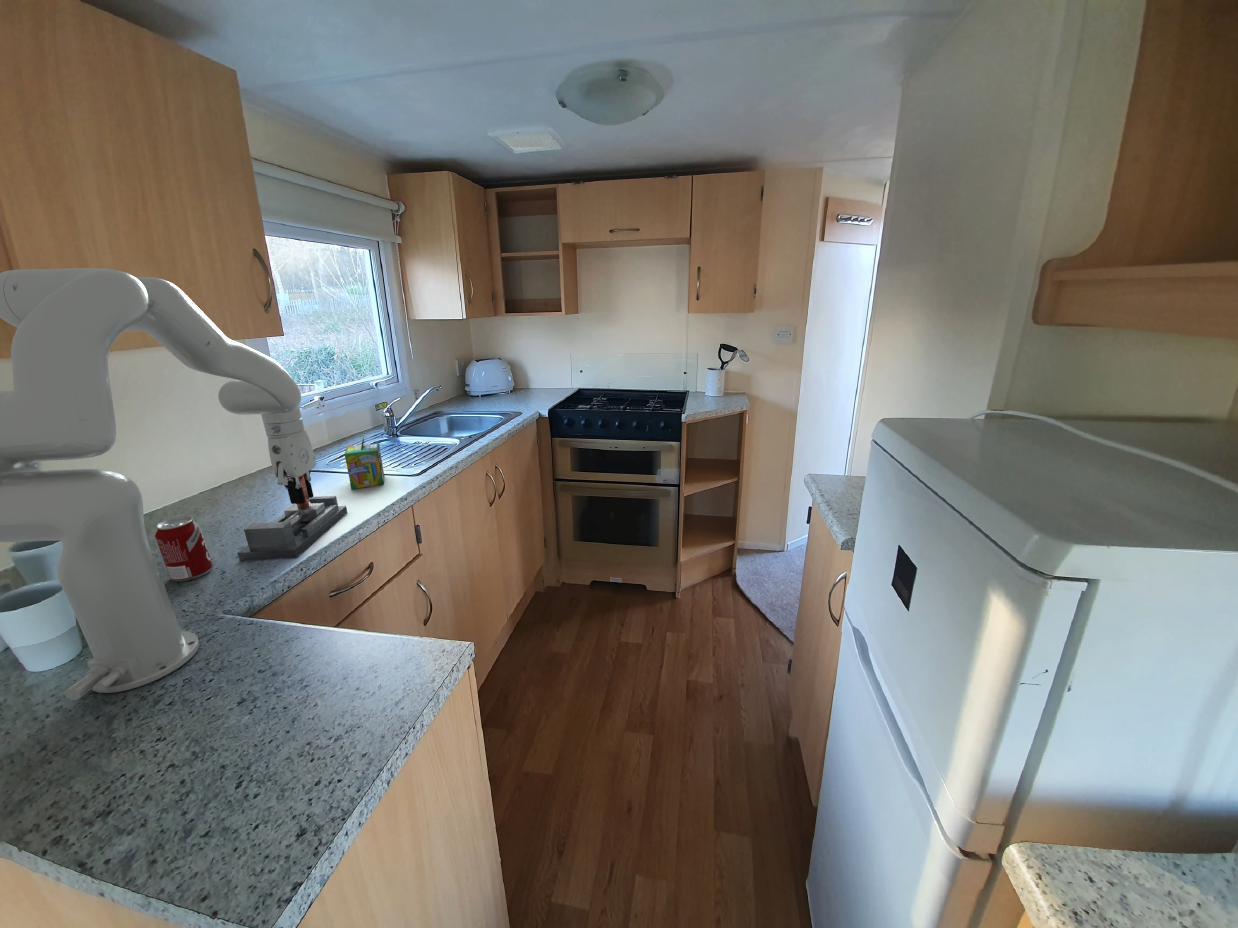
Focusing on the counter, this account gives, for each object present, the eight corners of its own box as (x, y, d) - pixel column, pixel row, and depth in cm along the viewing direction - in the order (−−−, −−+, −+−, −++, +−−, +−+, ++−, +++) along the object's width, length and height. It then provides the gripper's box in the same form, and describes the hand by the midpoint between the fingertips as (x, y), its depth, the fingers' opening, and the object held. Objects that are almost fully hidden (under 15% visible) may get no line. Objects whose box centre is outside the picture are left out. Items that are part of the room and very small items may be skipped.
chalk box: (353, 480, 152) (344, 435, 147) (385, 476, 155) (377, 431, 151) (350, 490, 144) (340, 442, 139) (384, 485, 147) (375, 439, 142)
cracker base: (296, 558, 105) (289, 529, 103) (239, 560, 105) (230, 531, 102) (347, 512, 128) (342, 488, 126) (300, 514, 127) (294, 490, 125)
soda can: (189, 585, 96) (170, 531, 92) (162, 582, 97) (142, 528, 93) (222, 567, 102) (205, 516, 98) (196, 565, 103) (179, 514, 100)
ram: (304, 531, 113) (293, 487, 109) (271, 533, 112) (259, 489, 109) (326, 513, 122) (316, 473, 119) (296, 515, 122) (285, 474, 118)
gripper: (280, 436, 105) (300, 513, 111) (319, 419, 120) (334, 487, 126) (244, 437, 105) (266, 514, 111) (288, 420, 120) (305, 488, 126)
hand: (302, 499), depth 118 cm, fingers closed on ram, 2 cm apart
